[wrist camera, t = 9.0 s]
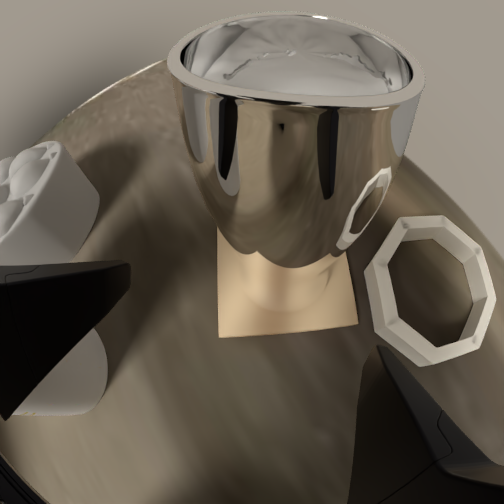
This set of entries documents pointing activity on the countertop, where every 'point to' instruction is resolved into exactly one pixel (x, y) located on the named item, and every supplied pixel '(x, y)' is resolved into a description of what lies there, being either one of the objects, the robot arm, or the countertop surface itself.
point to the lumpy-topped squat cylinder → (44, 206)
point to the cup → (71, 382)
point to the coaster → (269, 323)
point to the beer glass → (292, 139)
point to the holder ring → (384, 299)
